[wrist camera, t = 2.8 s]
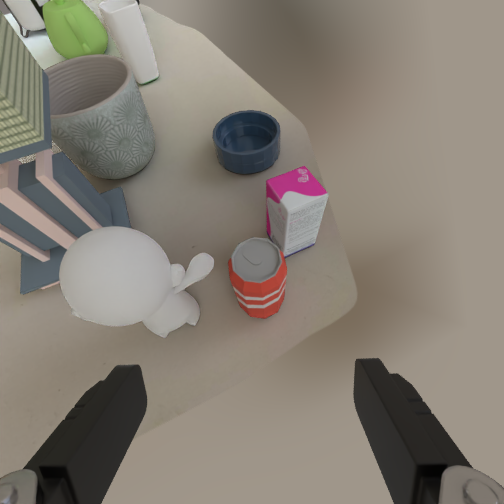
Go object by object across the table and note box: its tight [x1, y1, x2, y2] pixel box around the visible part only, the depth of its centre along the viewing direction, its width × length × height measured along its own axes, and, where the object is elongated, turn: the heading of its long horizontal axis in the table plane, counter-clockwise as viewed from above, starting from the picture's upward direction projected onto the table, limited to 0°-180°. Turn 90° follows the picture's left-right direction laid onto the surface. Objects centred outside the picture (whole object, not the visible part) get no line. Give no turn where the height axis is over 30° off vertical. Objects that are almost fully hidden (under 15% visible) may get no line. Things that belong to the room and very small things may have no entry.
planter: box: [44, 54, 155, 179], centre depth 46 cm, size 17×17×15 cm
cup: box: [98, 0, 159, 84], centre depth 61 cm, size 7×7×15 cm
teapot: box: [43, 0, 108, 59], centre depth 72 cm, size 22×15×13 cm
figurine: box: [59, 226, 214, 338], centre depth 27 cm, size 16×8×20 cm, turn 112°
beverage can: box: [228, 237, 287, 319], centre depth 31 cm, size 6×6×12 cm
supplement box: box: [266, 166, 329, 258], centre depth 36 cm, size 6×6×12 cm
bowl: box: [213, 110, 280, 174], centre depth 49 cm, size 12×12×5 cm
